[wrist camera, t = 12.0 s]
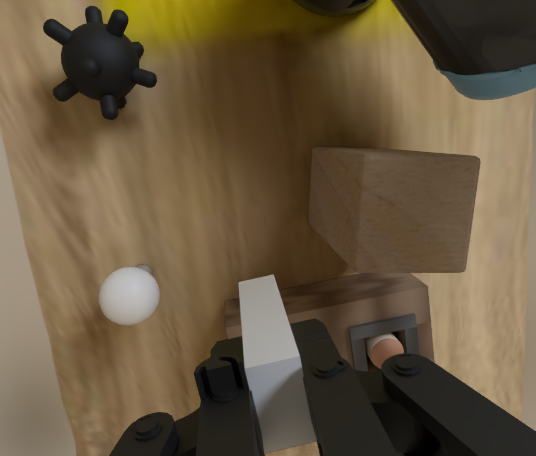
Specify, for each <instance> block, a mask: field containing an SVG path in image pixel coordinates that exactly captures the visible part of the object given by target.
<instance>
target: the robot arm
mask: <svg viewBox="0 0 536 456" xmlns="http://www.w3.org/2000/svg"><path fill="white" fill-rule="evenodd" d="M294 1H295V2H297V3H298V4H299V5H301V6H302V7H304V8H305V9H307V10H309V11H311V12H314V13H316V14H320V15H324V16H333V17H336V16H345V15H350V14H353V13H356V12H358V11H360V10H362V9H364V8H366V7H367V6H369V5H370V4H372V3H373V2H374V1H375V0H294ZM391 1H392V3H393V4H394V5H395V7H396V8H397V10H398V11H399V12H400V14H401V15H402V17H403V18H404V20H405V21H406V22H407V24H408V25H409V27H410V28H411V29H412V31H413V32H414V34H415V35H416V36H417V38H418V39H419V41H420V42H421V44H422V45H423V46H424V48H425V49H426V51H427V52H428V53H429V55H430V56H431V58H432V59H433V63H434V66H435V67H436V69H437V70H439V71H440V73H441V74H443V75H445V76H446V77H447V79H448V80H449V81H450V82H451V84H452V85H453V86H454V87H455V89H456V90H457V91H458V92H459V93H461V94H462V95H464V96H465V97H468V98H470V99H476V100H494V99H500V98H504V97H508V96H512V95H516V94H519V93H522V92H525V91H528V90H530V89H533V88H535V87H536V0H391ZM238 284H239V298H240V312H241V325H242V336H239V337H235V338H231V339H226V340H222V341H218V342H217V343H216V344H215V345H214V347H213V348H212V350H211V355H210V358H209V359H207V360H205V361H203V362H202V363H201V364H200V365H199V366H198V367H196V369H195V372H194V376H195V380H196V384H197V387H198V391H199V395H200V398H201V404H200V407H199V408H198V409H197V410H196V411H194V412H193V413H191V414H189V415H188V416H186V417H184V418H181V419H179V420H177V421H175V422H174V419H173V417H172V416H171V415H170V414H168V413H163V412H157V413H152V414H148V415H145V416H143V417H141V418H139V419H138V420H136V421H135V422H134V423H132V424H131V425H130V426H129V427H128V428H127V429H126V431H125V432H124V433H123V435H122V436H121V438H120V440H119V441H118V443H117V444H116V446H115V447H114V449H113V451H112V452H111V454H110V455H109V456H265V454H266V453H270V452H274V451H278V450H283V449H287V448H291V447H295V446H299V445H303V444H307V443H311V442H316V441H317V444H318V449H319V454H320V456H536V431H534V430H533V429H531V428H530V427H528V426H527V425H525V424H524V423H522V422H521V421H519V420H518V419H517V418H515V417H514V416H512V415H511V414H509V413H508V412H506V411H505V410H503V409H502V408H500V407H499V406H497V405H496V404H494V403H493V402H491V401H490V400H488V399H487V398H485V397H484V396H482V395H481V394H480V393H478V392H477V391H475V390H474V389H472V388H471V387H469V386H468V385H466V384H465V383H463V382H462V381H460V380H459V379H457V378H456V377H454V376H453V375H451V374H450V373H448V372H447V371H445V370H444V369H443V368H441V367H440V366H438V365H437V364H435V363H434V362H432V361H431V360H429V359H428V358H425V357H423V356H421V355H417V354H412V353H402V354H397V355H393V356H391V357H389V358H388V359H386V360H385V361H384V362H383V364H382V365H381V371H373V372H369V371H360V370H355V369H353V368H352V367H351V365H350V364H349V363H348V361H347V360H345V359H342V358H341V356H340V354H339V352H338V350H337V348H336V346H335V344H334V342H333V340H332V339H331V336H330V334H329V332H328V330H327V328H326V326H325V324H324V323H323V322H321V321H319V320H317V319H316V318H314V319H309V320H305V321H300V322H296V323H292V324H289V321H288V318H287V315H286V312H285V309H284V305H283V302H282V299H281V296H280V293H279V290H278V287H277V284H276V281H275V278H274V274H273V275H268V276H264V277H259V278H255V279H250V280H246V281H241V282H238ZM264 452H265V454H264Z"/></svg>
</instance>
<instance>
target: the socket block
mask: <svg viewBox="0 0 536 456" xmlns="http://www.w3.org/2000/svg"><path fill="white" fill-rule="evenodd" d="M279 293H280V296H281V299H282V302H283V305H284V309H285V312H286V315H287V318H288V321H289V324H292V323H296V322H300V321H305V320H309V319H314V318H316V319H317V320H319V321H321V322H323V323H324V324H325V326H326V328H327V330H328V332H329V334H330V336H331V339H332V340H333V342H334V344H335V346H336V348H337V350H338V352H339V354H340V356H341V358H342V359H345V360H347V361H348V363H349V364H350V365H351V367H352V368H353V369H355V370H360V371H369V372H373V371H381V369H380V368H378V367H377V366H375V365H374V364H373V362H372V361H371V359H370V358H369V356H368V355H367V353H366V351H365V345H364V338H367V337H371V336H376V335H381V334H385V333H390V332H391V333H392V334H393V335H394V336H395V337H396V338H397V340H398V341H399V342H400V343H401V344H402V346H403V349H404V353H412V354H417V355H421V356H423V357H425V358H428V359H429V360H431V361H432V362H434V352H433V341H432V329H431V318H430V307H429V296H428V286H427V285H425V284H424V283H423V282H421V281H420V280H418V279H417V278H416V277H414V276H413V275H412V274H410V273H361V274H356V275H351V276H346V277H341V278H336V279H331V280H326V281H321V282H317V283H312V284H307V285H302V286H297V287H292V288H287V289H282V290H279ZM225 329H226V334H227V339H231V338H235V337H239V336H242V325H241V312H240V298H238V299H233V300H228V301H225Z"/></svg>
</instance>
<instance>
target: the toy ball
mask: <svg viewBox="0 0 536 456" xmlns="http://www.w3.org/2000/svg"><path fill="white" fill-rule="evenodd" d="M85 16H86V22H87V24H83V25H81V26H79V27H77V28H76V29H74V30H73V31H70V30H69V29H68V28H66V27H65V26H63V25H62V24H60V23H59V22H58V21H56V20H54V19H49V20H47V21H46V22H45V23H44V26H43V30H44V32H45V33H46V35H48V36H49V37H51V38H52V39H54V40H55V41H57V42H58V43H60V44H61V45H63V47H62V52H61V63H62V66H63V70H64V72H65V74H66V76H67V78H68V79H66V80H65V81H63V82H62V83H61V84H59V85H58V86H56V87H55V88H54V89H53V94H54V96H55V98H56V99H57V100H59V101H63V102H65V101H67V100H68V99H70V98H71V97H72V96H74V95H75V94H76V93H78V92H80V93H82V94H84V95H85V96H87V97H89V98H91V99H95V100H99V101H100V104H101V110H102V115H103V117H104V118H105V119H108V120H113V119H116V118H117V117H118V109H122V108H124V107H125V105H126V99H125V97H124V96H125V95H127V94H128V93H129V92H130V91H131V90H132V88H133V87H134V86H135V84H139V85H142V86H145V87H148V88H152V87H154V86H155V85H156V83H157V78H156V75H155V74H154V73H152V72H149V71H146V70H143V69H140V68H139V59H138V57H141V56H142V55H143V52H144V49H143V46H142V45H141V44H140V43H139V42H131V41H130V40H129V39H128V38H127V37H126V36H125V35H124V34H123V33H124V31H125V29H126V26H127V24H128V16H127V14H126V13H125V12H124V11H122V10H114V11H113V12H112V14H111V17H110V19H109V22H108V24H103V20H102V14H101V11H100V9H98V8H97V7H95V6H89V7H87V8H86V10H85Z"/></svg>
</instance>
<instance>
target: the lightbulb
mask: <svg viewBox="0 0 536 456" xmlns="http://www.w3.org/2000/svg"><path fill="white" fill-rule="evenodd" d="M159 299H160V290H159V286H158V283H157V281H156V280H155V278H154V277H153V272H152V270H151V268H150V267H148V266H146V265H137V266H135V267H123V268H120V269H117V270H115V271H113V272H112V273H111V274H109V275H108V276H107V277H106V278H105V280H104V281H103V283H102V285H101V287H100V290H99V296H98V300H99V305H100V308H101V310H102V312H103V314H104V315H105V316H106V317H107V318H108V319H109V320H111V321H112V322H114V323H116V324H119V325H124V326H131V325H136V324H139V323H142V322H144V321H145V320H147V319H148V318H149V317H150V316H151V315H152V314H153V313H154V311H155V310H156V308H157V306H158V303H159Z"/></svg>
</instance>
